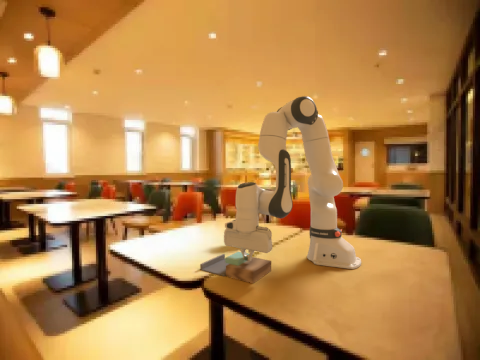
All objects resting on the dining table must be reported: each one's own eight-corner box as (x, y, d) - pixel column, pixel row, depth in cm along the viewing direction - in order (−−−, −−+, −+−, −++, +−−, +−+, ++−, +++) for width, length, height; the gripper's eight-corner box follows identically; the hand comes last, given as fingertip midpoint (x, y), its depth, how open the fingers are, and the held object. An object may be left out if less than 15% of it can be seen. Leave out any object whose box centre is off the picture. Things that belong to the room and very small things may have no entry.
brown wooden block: (271, 270, 109) (271, 260, 109) (253, 283, 98) (252, 272, 97) (245, 264, 116) (245, 255, 116) (225, 276, 104) (225, 265, 104)
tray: (245, 264, 117) (245, 258, 116) (224, 276, 104) (224, 270, 104) (223, 259, 123) (222, 253, 123) (200, 269, 111) (200, 264, 111)
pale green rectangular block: (250, 258, 112) (250, 254, 111) (238, 265, 104) (238, 260, 104) (238, 256, 115) (238, 251, 115) (225, 262, 107) (225, 257, 107)
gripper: (275, 226, 103) (275, 262, 104) (230, 220, 114) (230, 253, 115) (267, 229, 98) (267, 267, 98) (221, 223, 109) (221, 257, 110)
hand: (247, 260), depth 107 cm, fingers closed
